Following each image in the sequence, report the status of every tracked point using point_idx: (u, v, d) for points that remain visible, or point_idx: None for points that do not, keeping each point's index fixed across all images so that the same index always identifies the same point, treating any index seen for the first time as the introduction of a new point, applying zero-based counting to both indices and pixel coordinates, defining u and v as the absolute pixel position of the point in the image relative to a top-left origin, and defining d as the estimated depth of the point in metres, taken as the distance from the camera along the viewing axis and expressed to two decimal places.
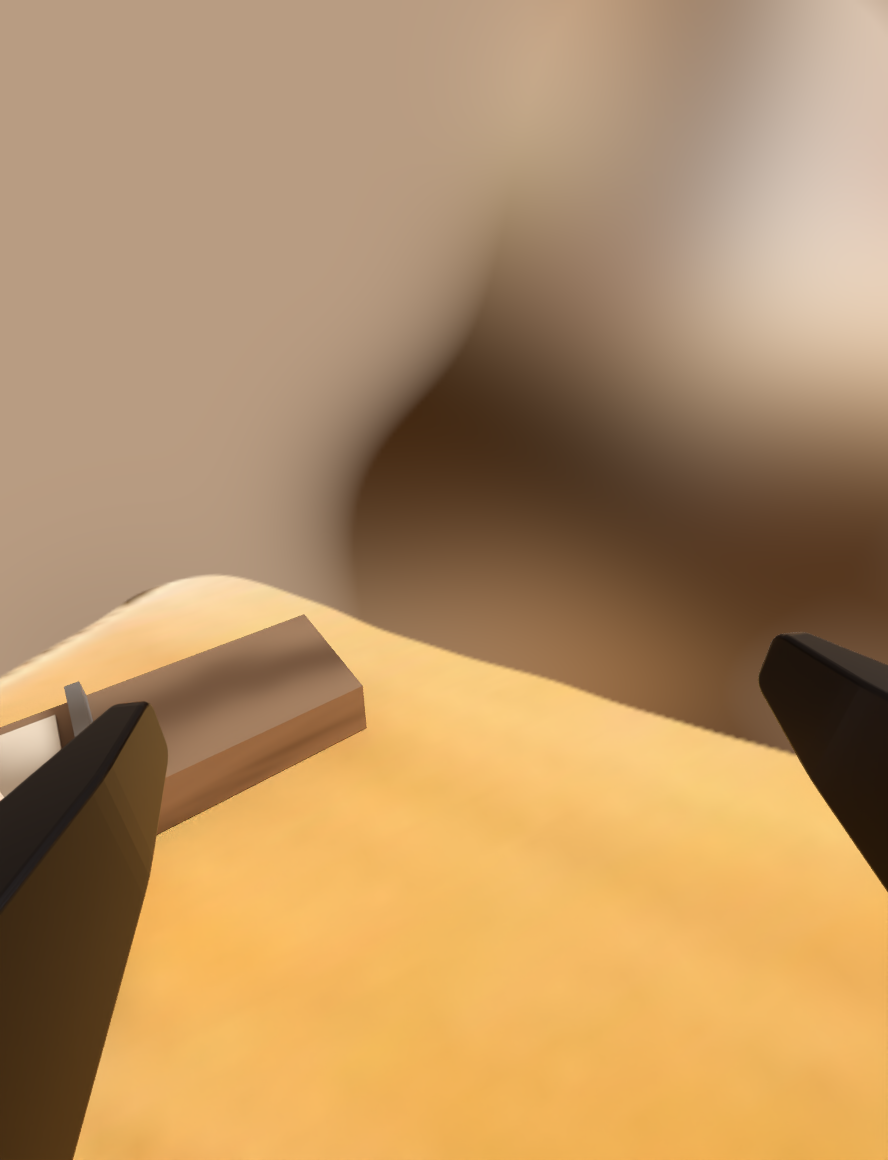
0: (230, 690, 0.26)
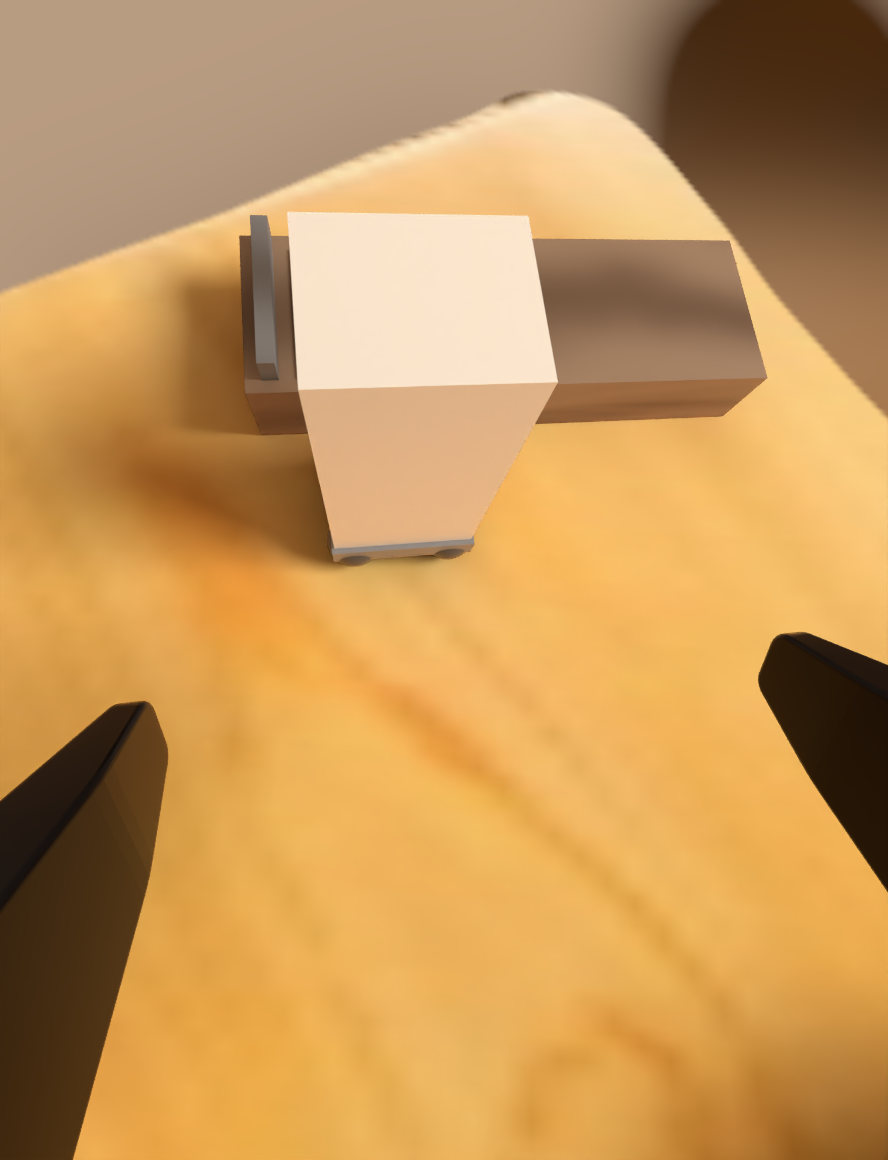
0: (631, 310, 0.23)
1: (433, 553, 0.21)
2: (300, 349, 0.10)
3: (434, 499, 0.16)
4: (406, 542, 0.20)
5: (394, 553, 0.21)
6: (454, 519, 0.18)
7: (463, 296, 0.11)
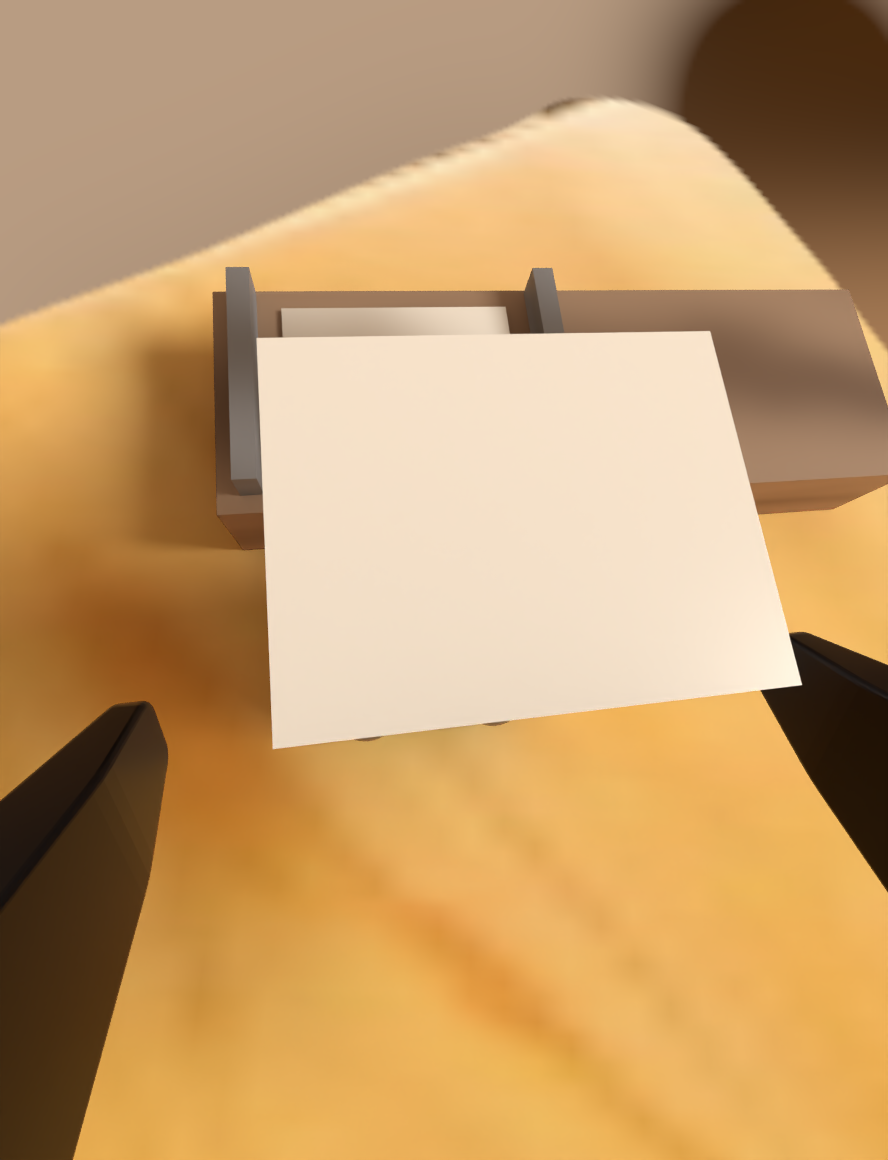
0: (731, 385, 0.17)
1: None
2: (279, 645, 0.05)
3: None
4: None
5: None
6: None
7: (605, 504, 0.06)
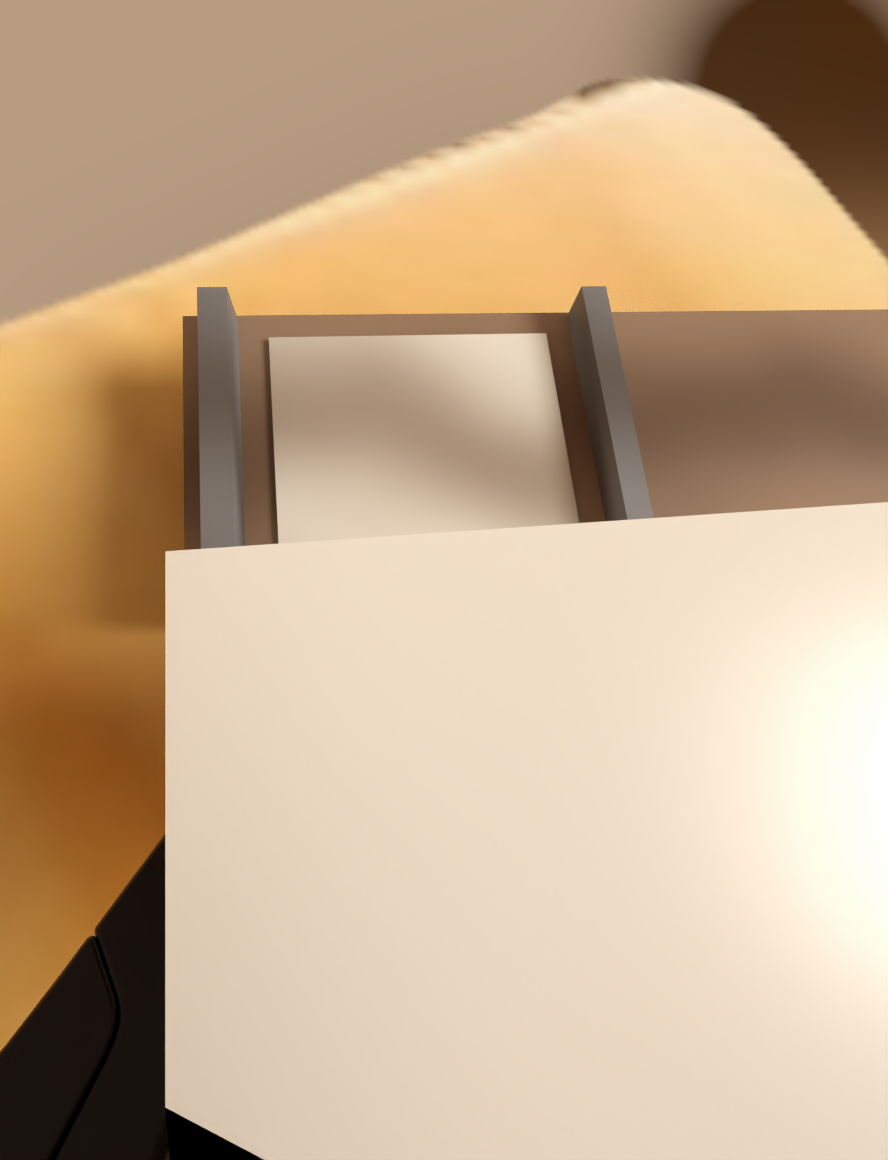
0: (819, 428, 0.14)
1: None
2: None
3: None
4: None
5: None
6: None
7: None
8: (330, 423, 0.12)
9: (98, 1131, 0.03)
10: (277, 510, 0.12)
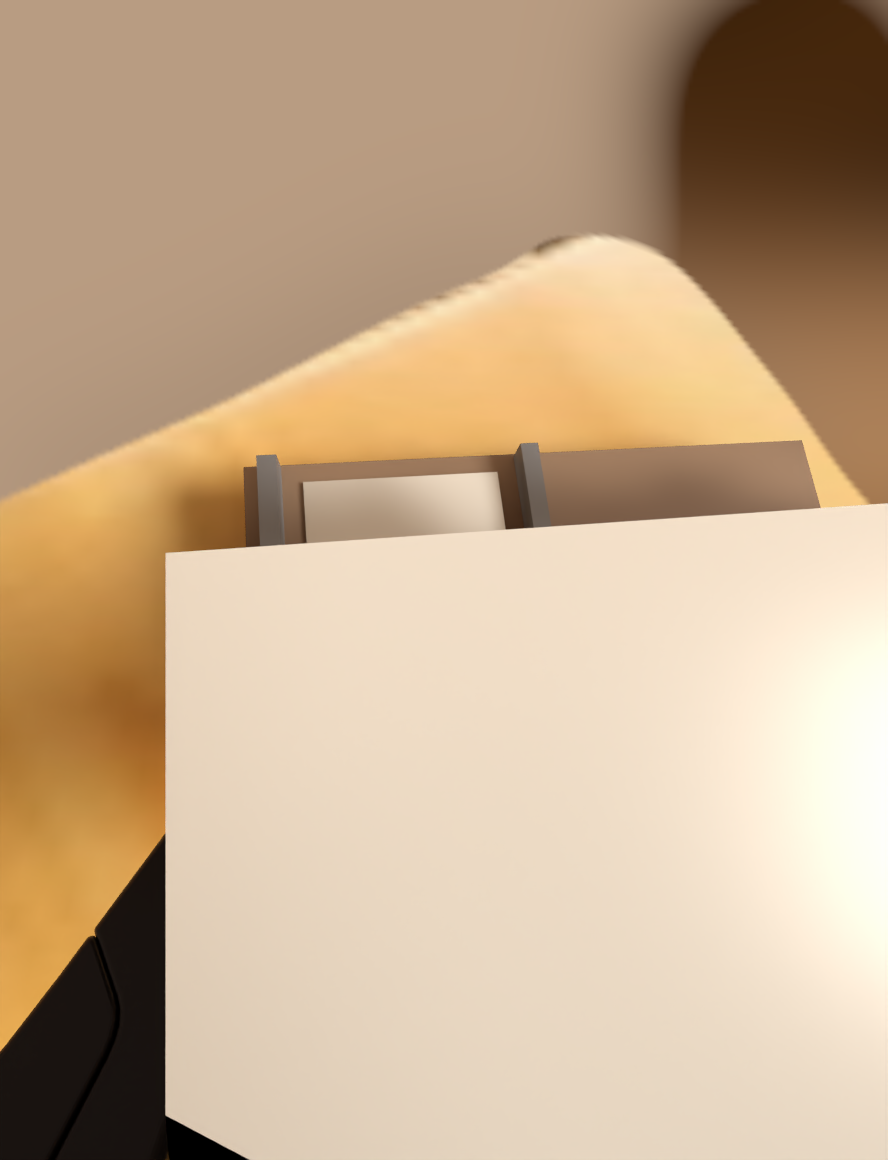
0: None
1: None
2: None
3: None
4: None
5: None
6: None
7: None
8: None
9: (98, 1131, 0.03)
10: None
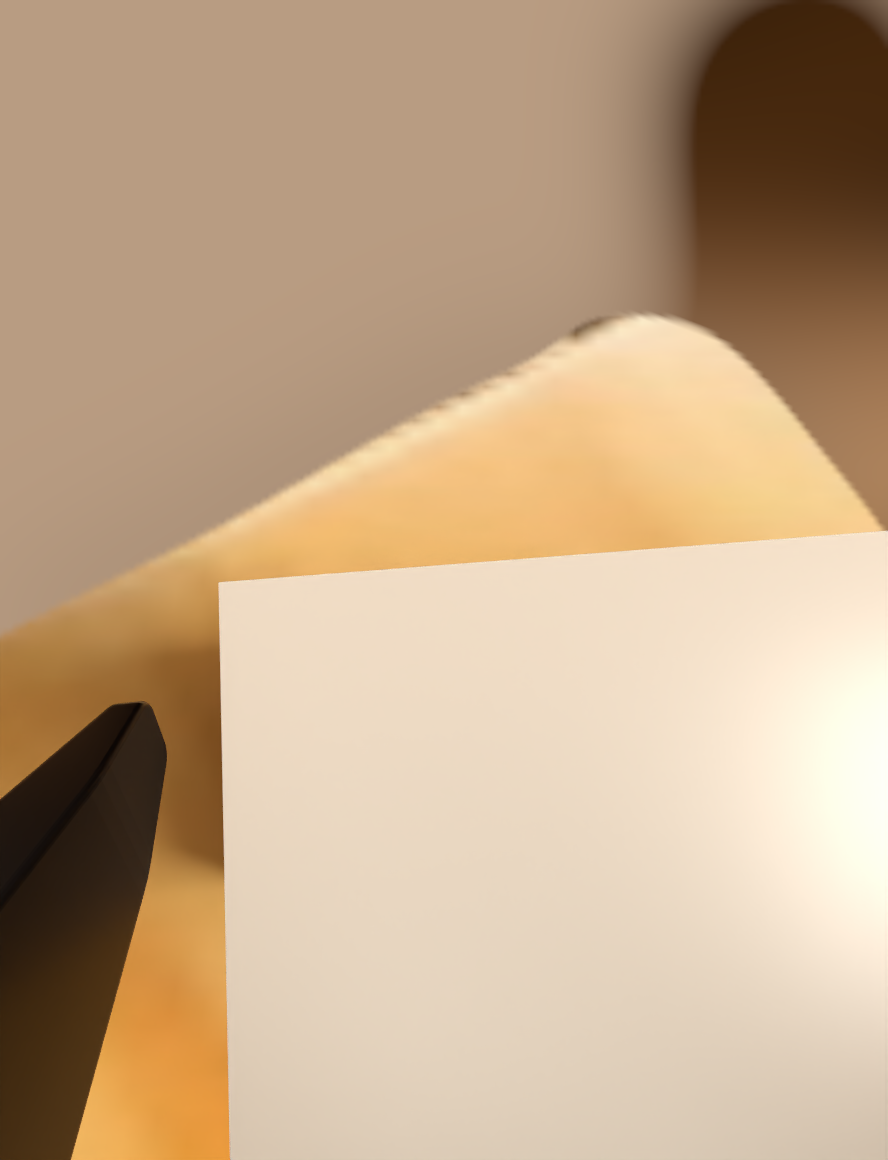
0: None
1: None
2: None
3: None
4: None
5: None
6: None
7: (809, 862, 0.03)
8: None
9: None
10: None
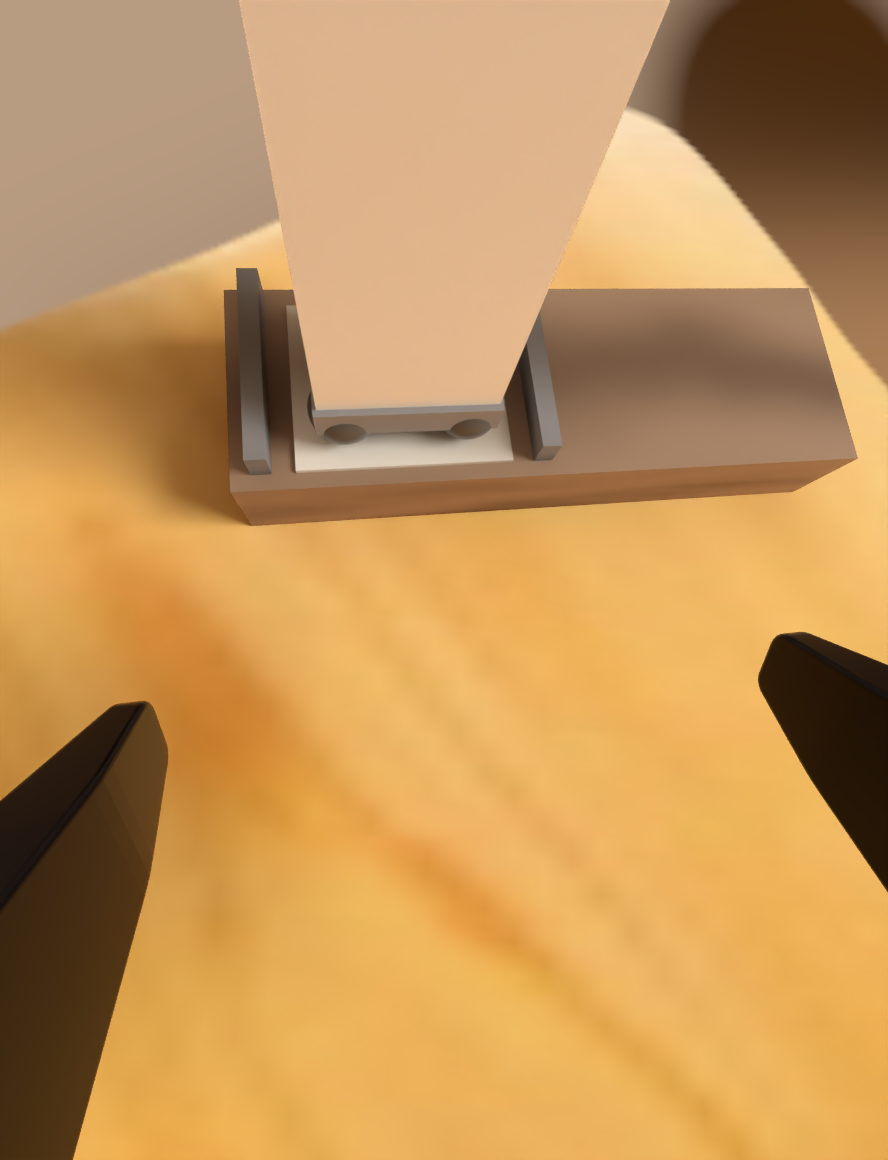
0: (696, 376, 0.19)
1: (449, 428, 0.16)
2: None
3: (458, 295, 0.11)
4: (413, 404, 0.15)
5: (397, 423, 0.15)
6: (483, 351, 0.13)
7: None
8: None
9: None
10: (293, 427, 0.17)
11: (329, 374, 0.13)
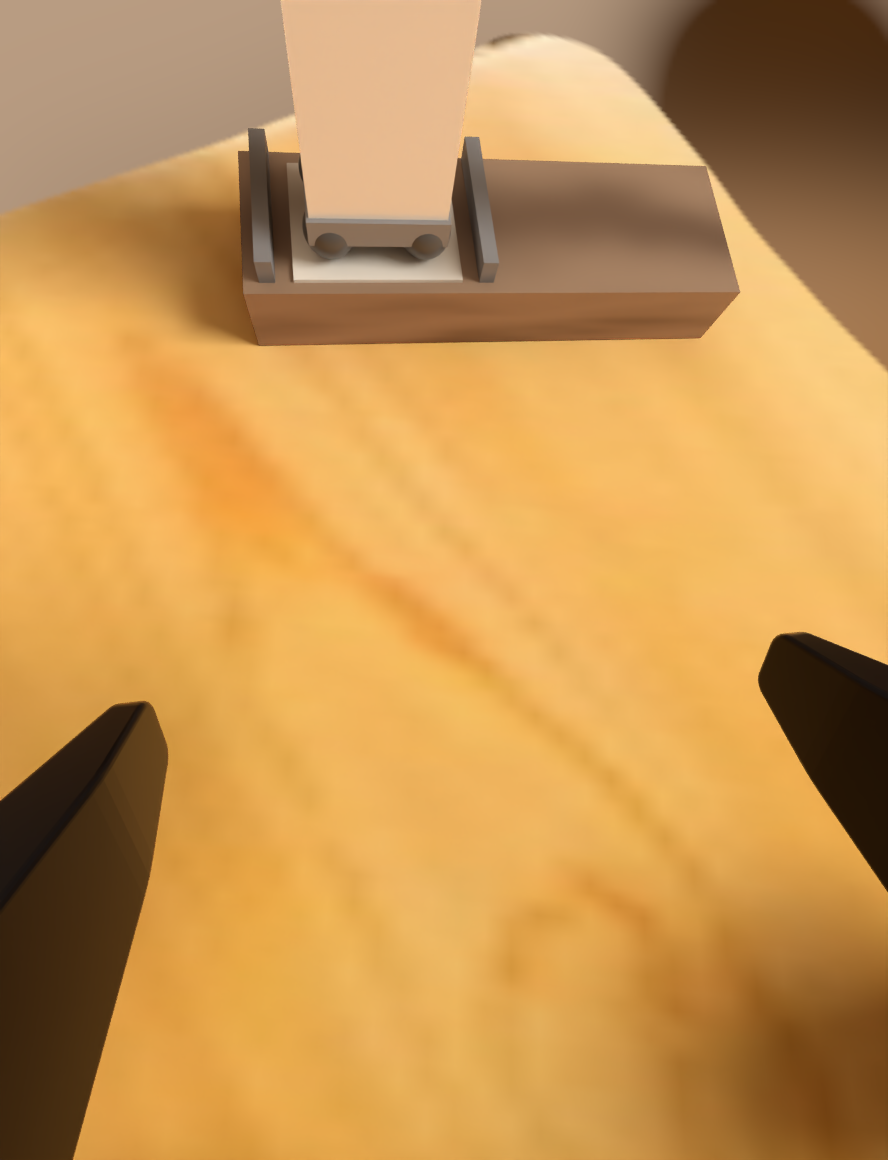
0: (611, 227, 0.24)
1: (410, 244, 0.21)
2: None
3: (405, 94, 0.16)
4: (381, 215, 0.20)
5: (370, 234, 0.20)
6: (428, 157, 0.18)
7: None
8: None
9: None
10: (292, 250, 0.22)
11: (317, 175, 0.18)
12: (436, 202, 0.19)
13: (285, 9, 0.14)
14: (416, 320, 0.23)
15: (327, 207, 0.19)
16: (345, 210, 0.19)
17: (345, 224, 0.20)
